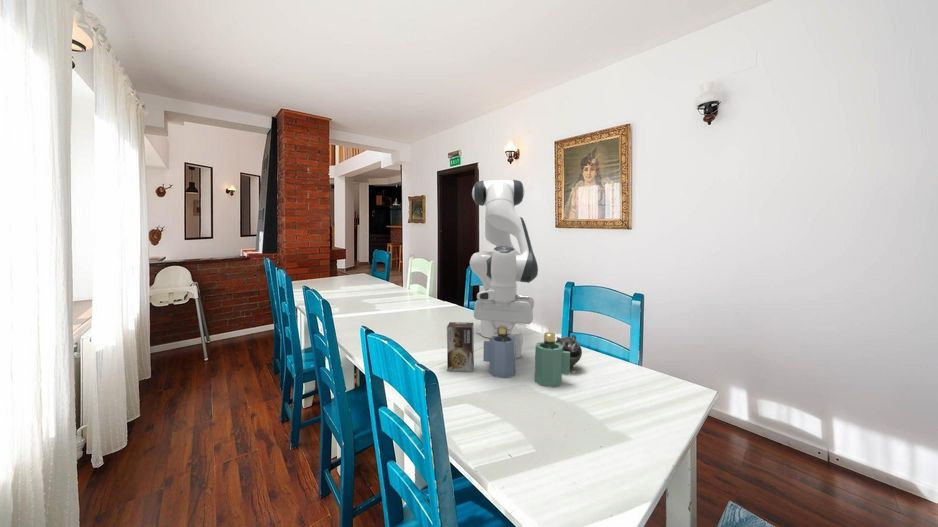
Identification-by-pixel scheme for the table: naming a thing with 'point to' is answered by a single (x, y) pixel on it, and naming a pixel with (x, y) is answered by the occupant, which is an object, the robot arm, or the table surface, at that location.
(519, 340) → the white cup
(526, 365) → the table surface
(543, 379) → the green mug
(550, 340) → the shiny brass cylinder
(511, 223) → the robot arm
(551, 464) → the table surface
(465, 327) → the coffee box
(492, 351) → the blue pot
